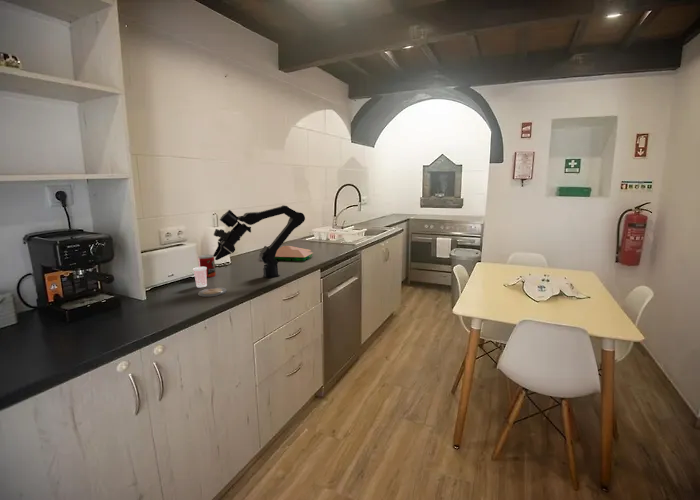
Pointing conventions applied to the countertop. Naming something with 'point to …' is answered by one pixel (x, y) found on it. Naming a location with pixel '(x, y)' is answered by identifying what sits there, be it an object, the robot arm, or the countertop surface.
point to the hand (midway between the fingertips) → (214, 258)
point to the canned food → (208, 264)
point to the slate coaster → (212, 292)
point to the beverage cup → (200, 276)
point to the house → (293, 252)
